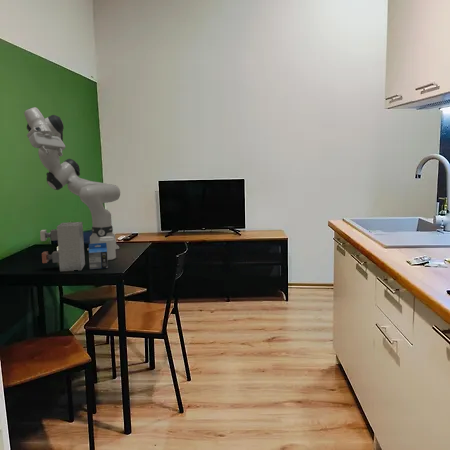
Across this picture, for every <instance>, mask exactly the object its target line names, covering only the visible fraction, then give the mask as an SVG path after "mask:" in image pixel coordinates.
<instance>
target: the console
mask: <svg viewBox="0 0 450 450" xmlns="http://www.w3.org/2000/svg"><path fill="white" fill-rule="evenodd" d="M49 233H51V238H50V240H51V241H53V242H54V241H57V247H58V248H57V249H58V250H55V251H53V252H52V253H51V255H52V259H51V260H52V263H53V264H56V263H59V272H75V271H74V270H78V271H83V268H84V267H85V265H86V261H85V244H84V227H83V221H77V222H76V221H75V222H74V221H73V222H61V223H60V224H58V225H57V226H56V229H51V230H50V232H49Z"/></svg>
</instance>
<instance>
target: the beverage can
mask: <svg viewBox="0 0 450 450" xmlns="http://www.w3.org/2000/svg"><path fill="white" fill-rule="evenodd" d="M115 239H116V237H115V238H114V237H113V236H104V237H100V243H106V245H107V258H108V261H112V260H115V259H116V258H117V254H116V253H117V252H116V250H117V249H115ZM100 246H101V245H100Z"/></svg>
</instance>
